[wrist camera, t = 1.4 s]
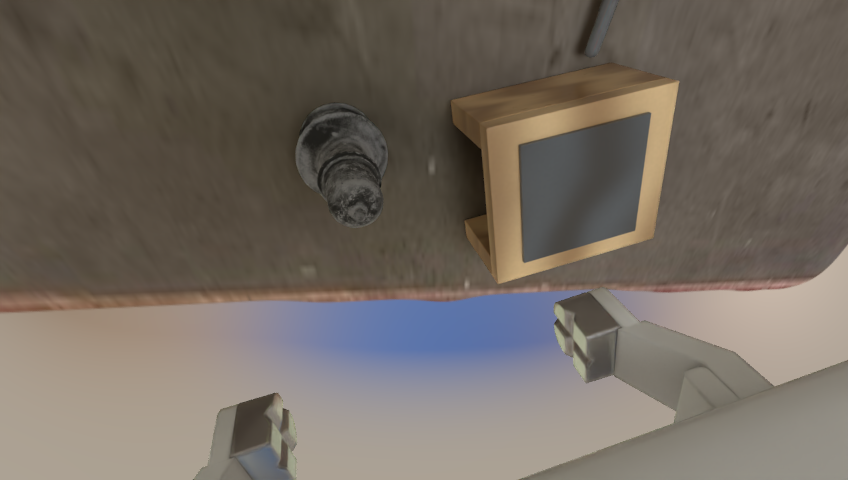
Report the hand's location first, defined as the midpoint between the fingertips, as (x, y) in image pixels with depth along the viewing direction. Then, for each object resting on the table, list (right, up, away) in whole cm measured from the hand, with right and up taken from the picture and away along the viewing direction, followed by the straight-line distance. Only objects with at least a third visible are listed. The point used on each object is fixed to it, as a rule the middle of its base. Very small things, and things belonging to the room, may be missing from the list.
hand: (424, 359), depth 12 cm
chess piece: (-6, +11, +19) cm, 22 cm away
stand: (+9, +10, +23) cm, 27 cm away
